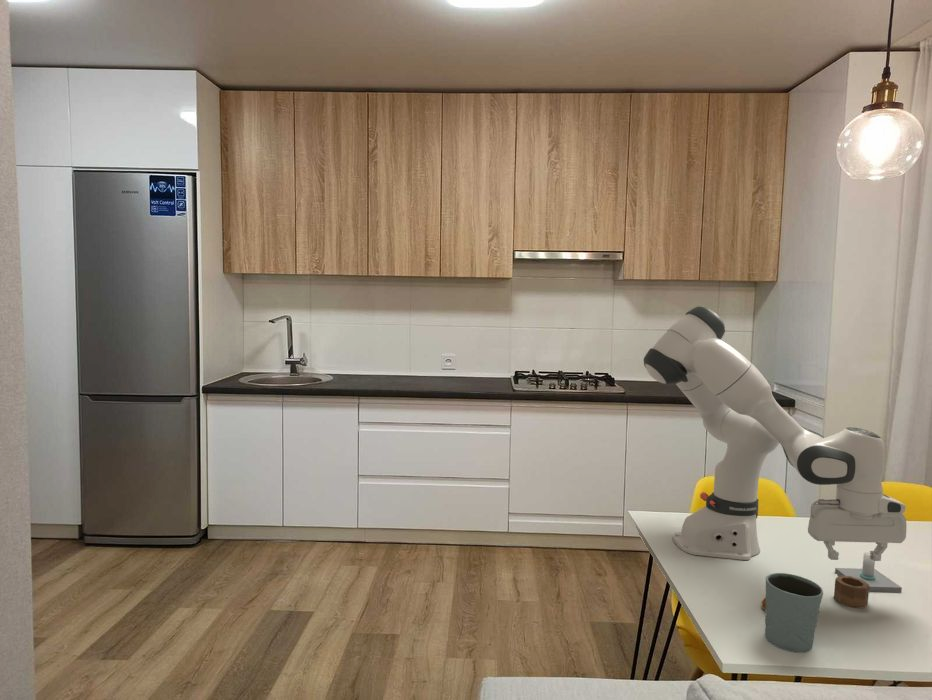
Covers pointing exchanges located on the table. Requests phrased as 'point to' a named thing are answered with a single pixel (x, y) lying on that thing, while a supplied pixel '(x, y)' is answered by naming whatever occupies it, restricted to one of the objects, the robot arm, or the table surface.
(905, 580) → the table surface
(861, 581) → the ring
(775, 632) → the grey blue cup
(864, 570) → the shaft stand
